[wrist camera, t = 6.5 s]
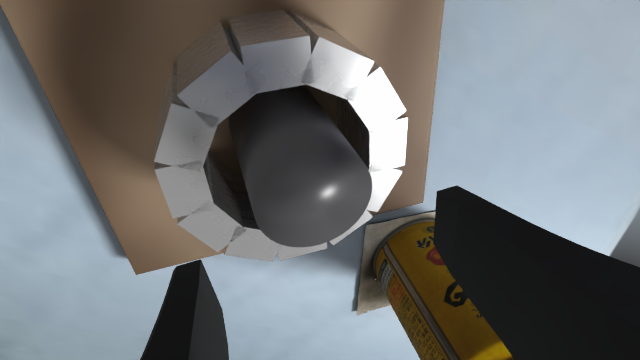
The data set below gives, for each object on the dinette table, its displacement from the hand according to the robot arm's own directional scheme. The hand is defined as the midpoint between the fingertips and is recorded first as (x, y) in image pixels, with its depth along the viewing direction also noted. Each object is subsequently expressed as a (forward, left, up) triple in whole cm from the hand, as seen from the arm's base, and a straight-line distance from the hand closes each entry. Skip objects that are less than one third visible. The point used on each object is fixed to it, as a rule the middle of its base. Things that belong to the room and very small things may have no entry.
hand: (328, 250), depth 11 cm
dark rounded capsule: (0, 0, -8) cm, 8 cm away
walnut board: (0, 0, -9) cm, 9 cm away
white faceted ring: (0, 0, -9) cm, 9 cm away
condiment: (-8, +13, -10) cm, 18 cm away
